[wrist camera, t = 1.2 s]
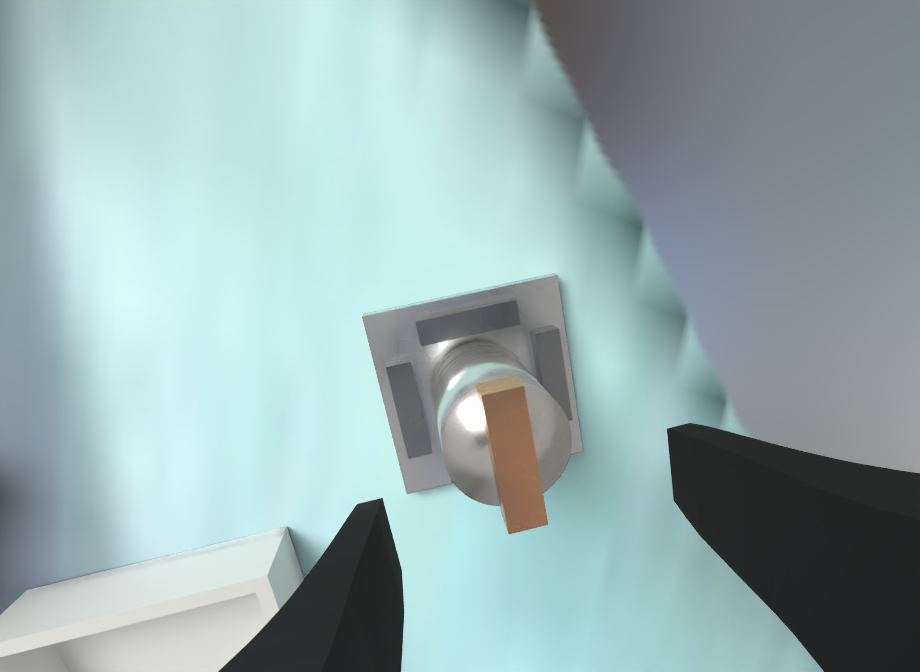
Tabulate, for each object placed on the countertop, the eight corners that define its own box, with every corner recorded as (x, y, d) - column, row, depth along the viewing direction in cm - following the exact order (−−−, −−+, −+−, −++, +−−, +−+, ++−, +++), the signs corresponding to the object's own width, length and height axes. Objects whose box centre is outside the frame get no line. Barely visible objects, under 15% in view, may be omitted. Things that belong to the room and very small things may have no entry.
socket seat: (578, 445, 21) (590, 459, 20) (406, 486, 21) (407, 504, 19) (552, 273, 19) (564, 276, 18) (363, 314, 19) (360, 320, 17)
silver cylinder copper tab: (533, 424, 20) (593, 512, 14) (443, 446, 20) (462, 546, 13) (517, 327, 19) (573, 374, 13) (421, 349, 19) (430, 407, 12)
